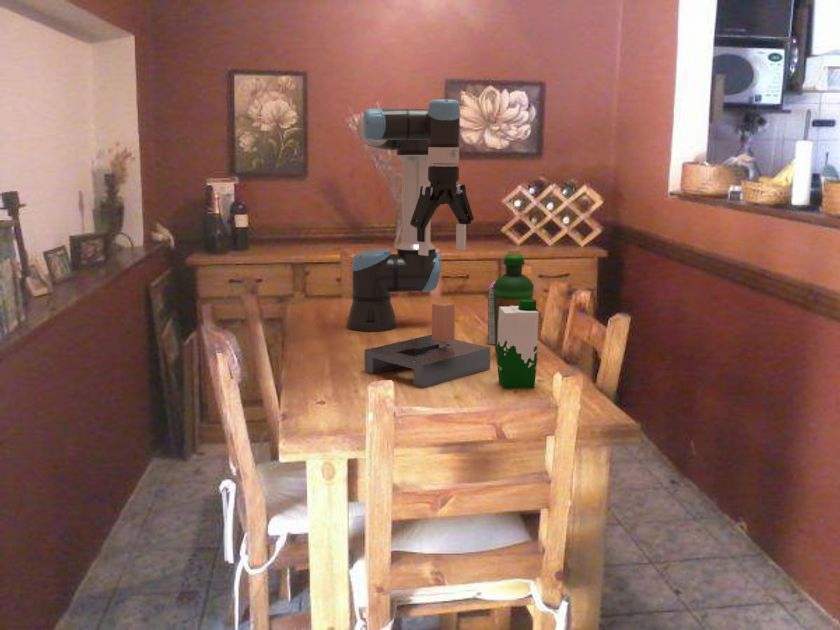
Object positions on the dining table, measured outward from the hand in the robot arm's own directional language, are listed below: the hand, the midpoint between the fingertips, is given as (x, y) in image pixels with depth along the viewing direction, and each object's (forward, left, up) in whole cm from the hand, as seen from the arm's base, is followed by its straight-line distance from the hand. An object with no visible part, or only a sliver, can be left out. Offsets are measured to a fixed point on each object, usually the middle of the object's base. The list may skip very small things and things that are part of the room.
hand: (442, 252), depth 208 cm
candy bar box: (-7, +31, -29) cm, 43 cm away
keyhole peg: (+1, -1, -29) cm, 29 cm away
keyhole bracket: (+1, -6, -29) cm, 29 cm away
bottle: (+6, +21, -29) cm, 36 cm away
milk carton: (+24, 0, -29) cm, 38 cm away
